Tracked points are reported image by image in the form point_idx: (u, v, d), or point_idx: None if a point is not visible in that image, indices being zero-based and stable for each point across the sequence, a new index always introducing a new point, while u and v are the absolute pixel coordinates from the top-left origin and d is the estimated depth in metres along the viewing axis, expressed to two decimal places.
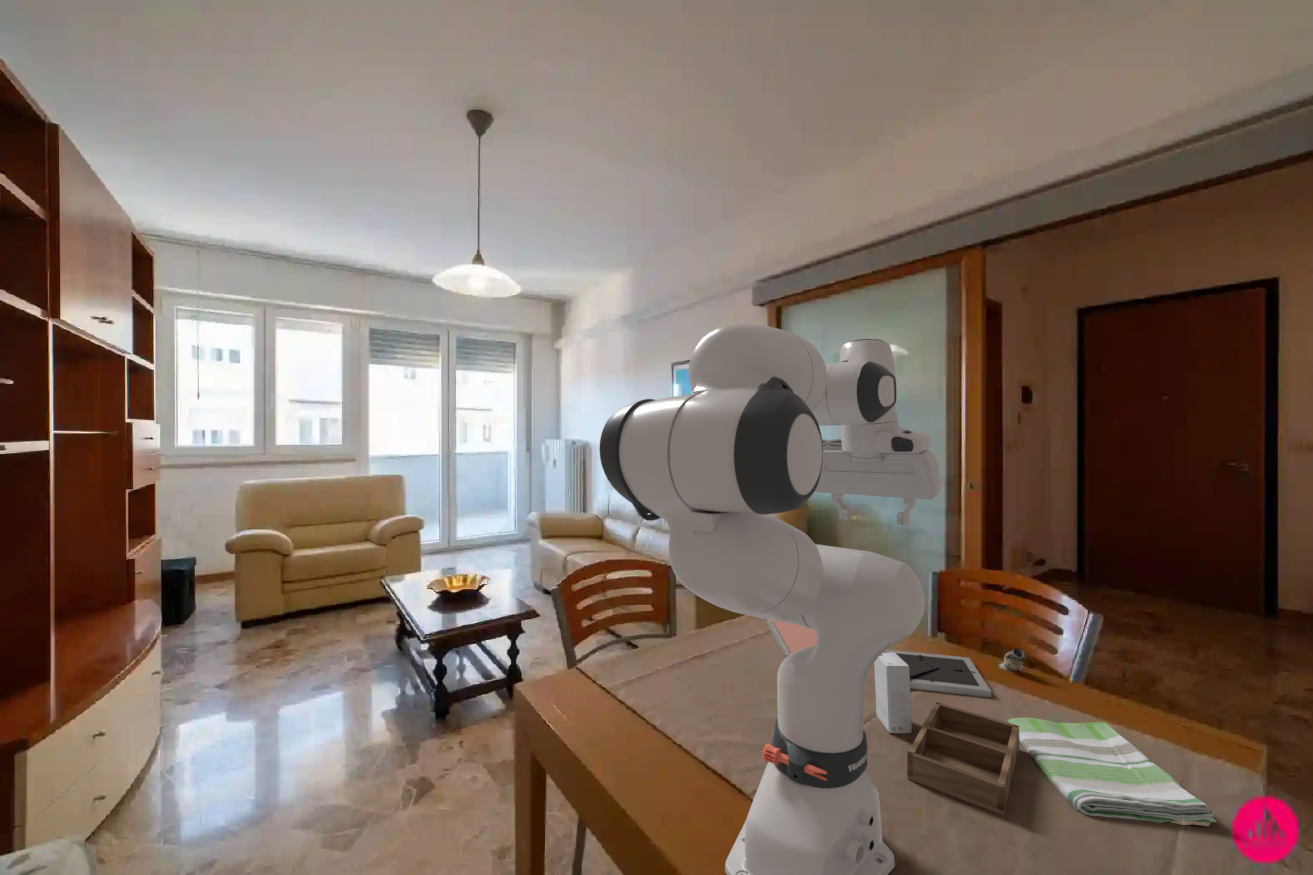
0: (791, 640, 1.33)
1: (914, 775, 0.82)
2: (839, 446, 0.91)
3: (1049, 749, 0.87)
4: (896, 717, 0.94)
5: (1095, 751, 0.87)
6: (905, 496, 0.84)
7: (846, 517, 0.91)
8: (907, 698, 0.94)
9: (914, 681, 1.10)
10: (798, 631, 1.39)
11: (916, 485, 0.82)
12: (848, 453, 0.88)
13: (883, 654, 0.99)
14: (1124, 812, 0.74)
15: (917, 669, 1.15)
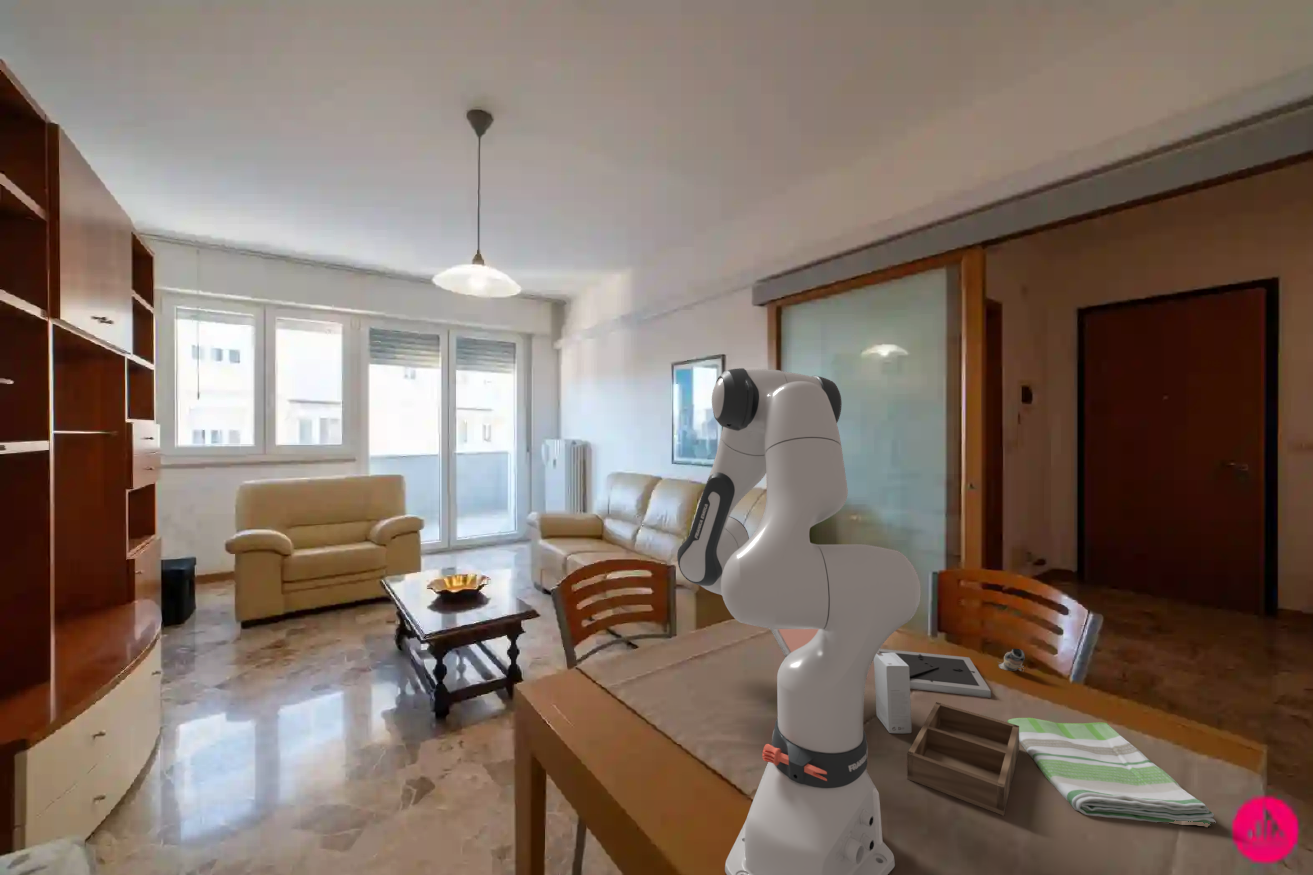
0: (791, 640, 1.33)
1: (914, 775, 0.82)
2: None
3: (1049, 749, 0.87)
4: (896, 717, 0.94)
5: (1095, 751, 0.87)
6: None
7: None
8: (907, 698, 0.94)
9: (914, 681, 1.11)
10: (798, 631, 1.39)
11: None
12: None
13: (883, 654, 0.99)
14: (1123, 812, 0.74)
15: (917, 669, 1.15)
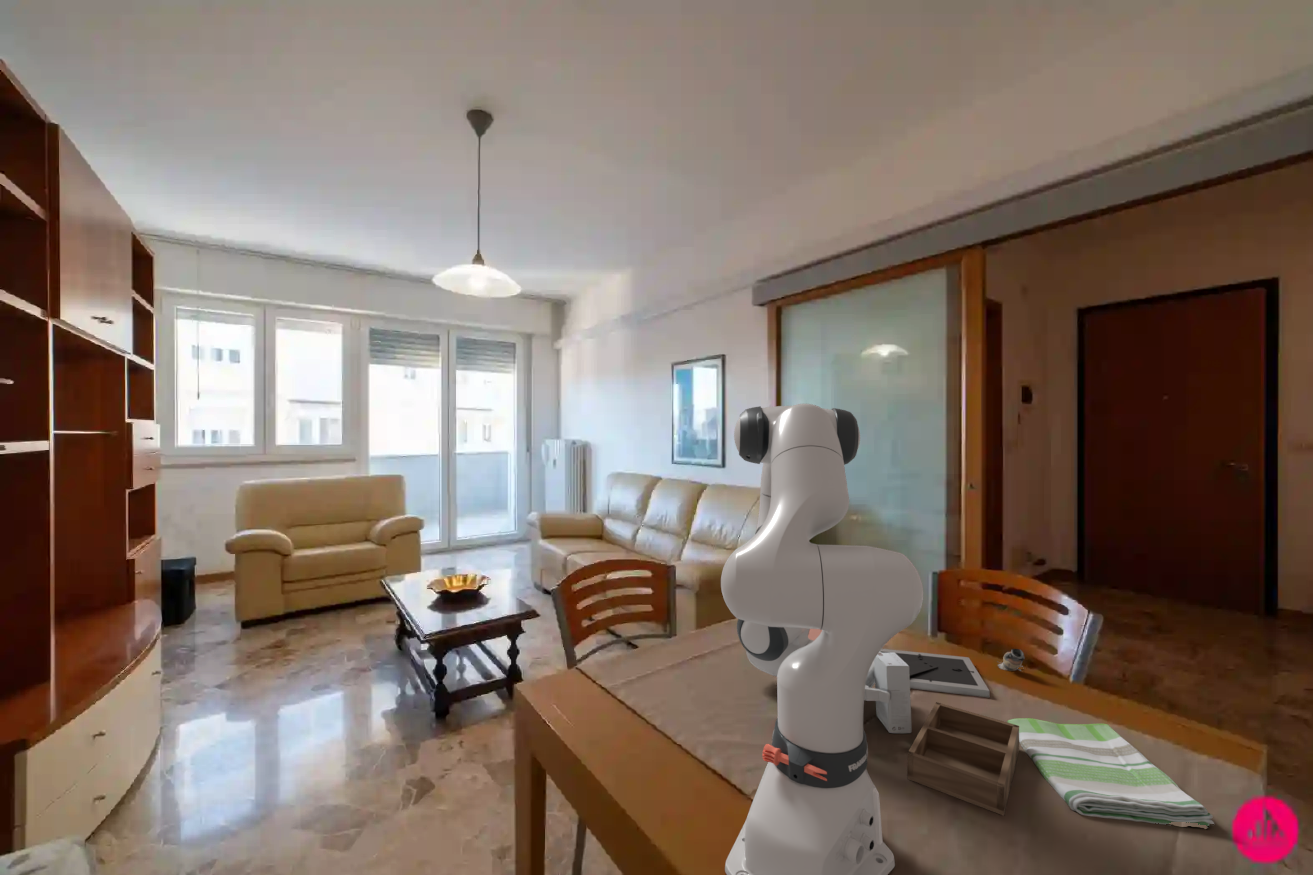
0: None
1: (914, 775, 0.82)
2: None
3: (1048, 749, 0.87)
4: (896, 717, 0.94)
5: (1095, 752, 0.87)
6: None
7: (888, 690, 0.94)
8: (907, 698, 0.94)
9: (912, 680, 1.11)
10: None
11: None
12: None
13: (883, 654, 0.99)
14: (1121, 813, 0.74)
15: (916, 668, 1.15)
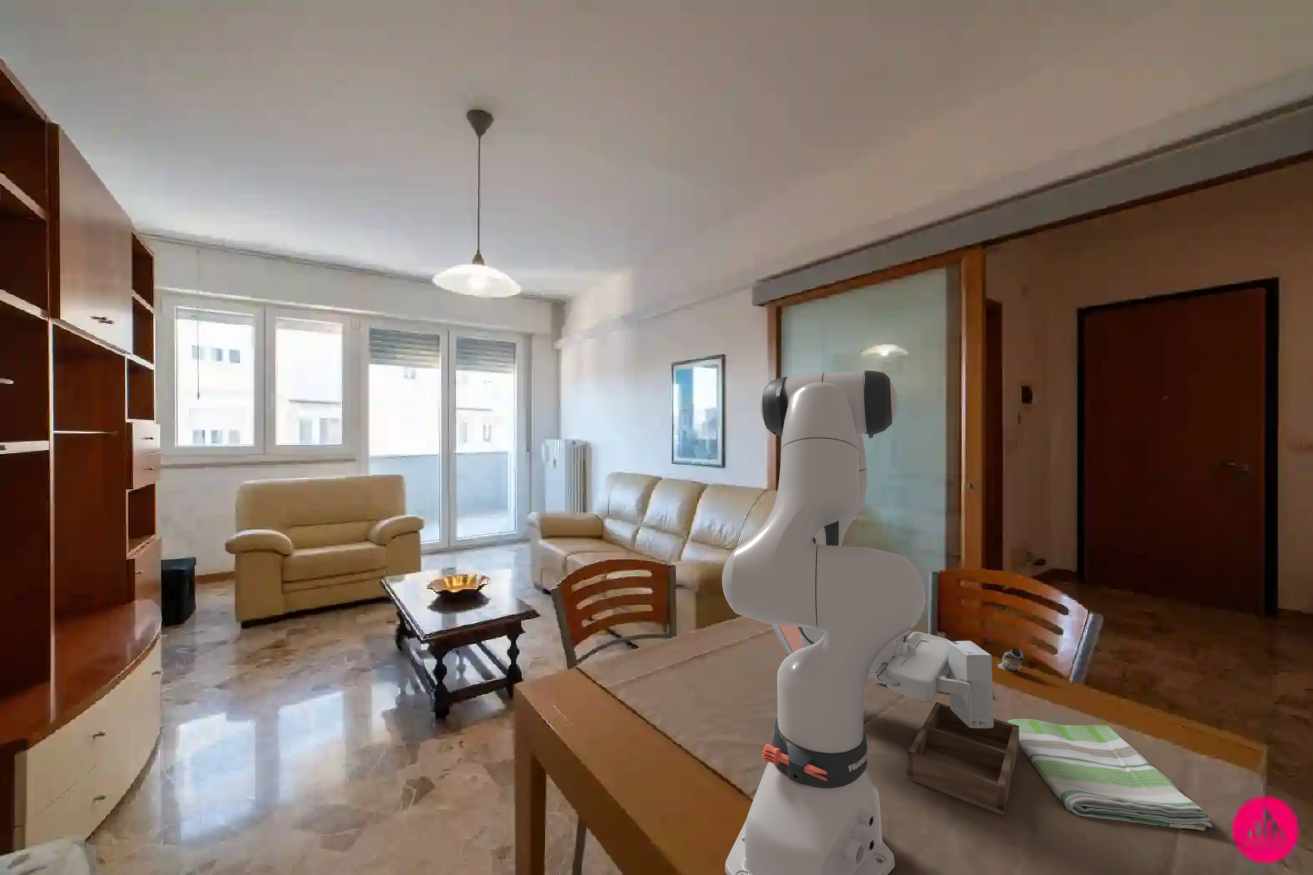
0: (794, 639, 1.33)
1: (914, 775, 0.82)
2: (887, 666, 0.93)
3: (1047, 750, 0.87)
4: (977, 710, 0.86)
5: (1094, 753, 0.86)
6: None
7: (969, 681, 0.86)
8: (989, 690, 0.86)
9: None
10: None
11: (940, 643, 0.99)
12: (896, 655, 0.94)
13: (958, 642, 0.91)
14: (1117, 814, 0.74)
15: None
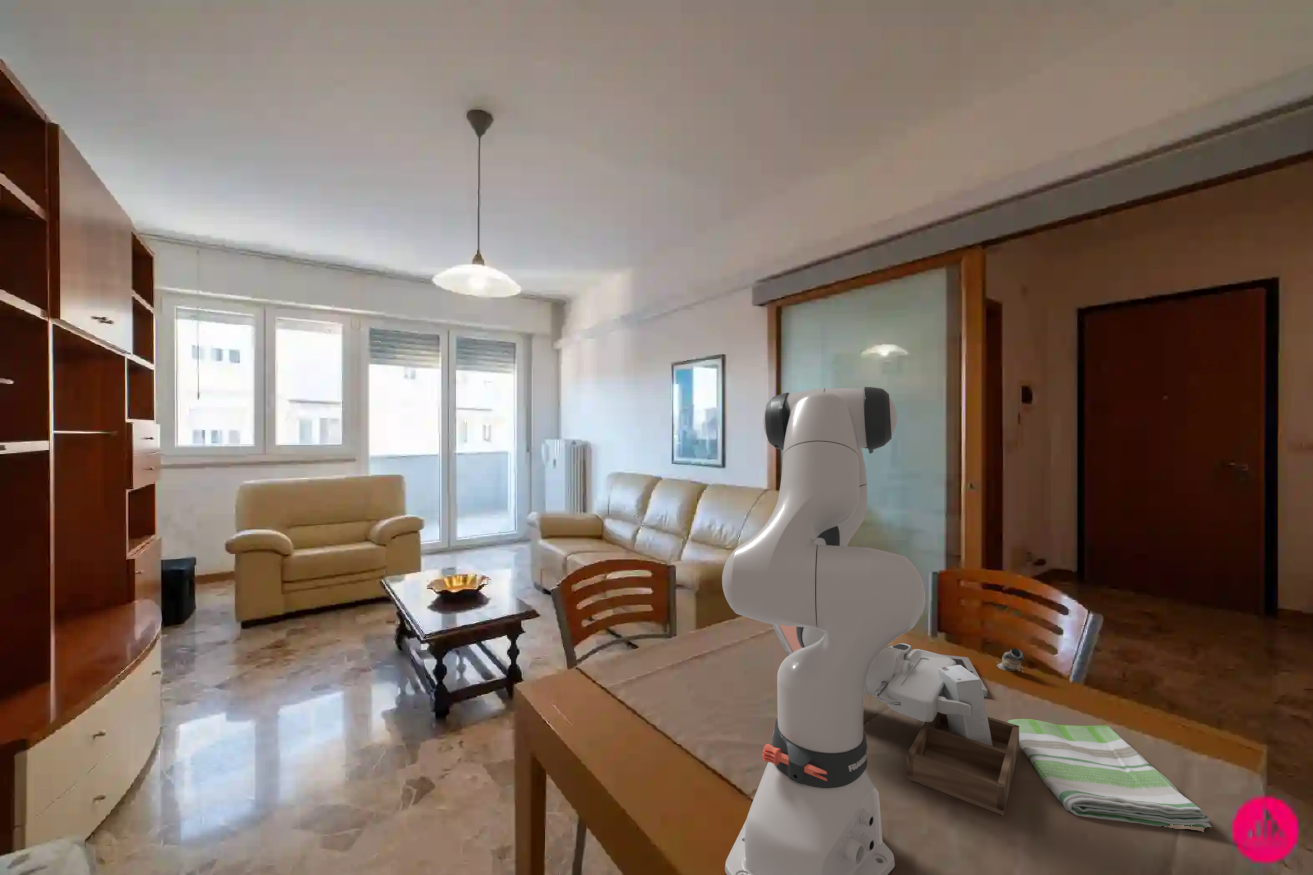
0: (794, 639, 1.33)
1: (914, 775, 0.82)
2: (888, 684, 0.93)
3: (1046, 750, 0.87)
4: (975, 736, 0.86)
5: (1094, 754, 0.86)
6: None
7: (968, 702, 0.86)
8: (983, 714, 0.87)
9: None
10: None
11: (940, 660, 0.99)
12: (897, 674, 0.94)
13: (948, 668, 0.92)
14: (1116, 814, 0.74)
15: None
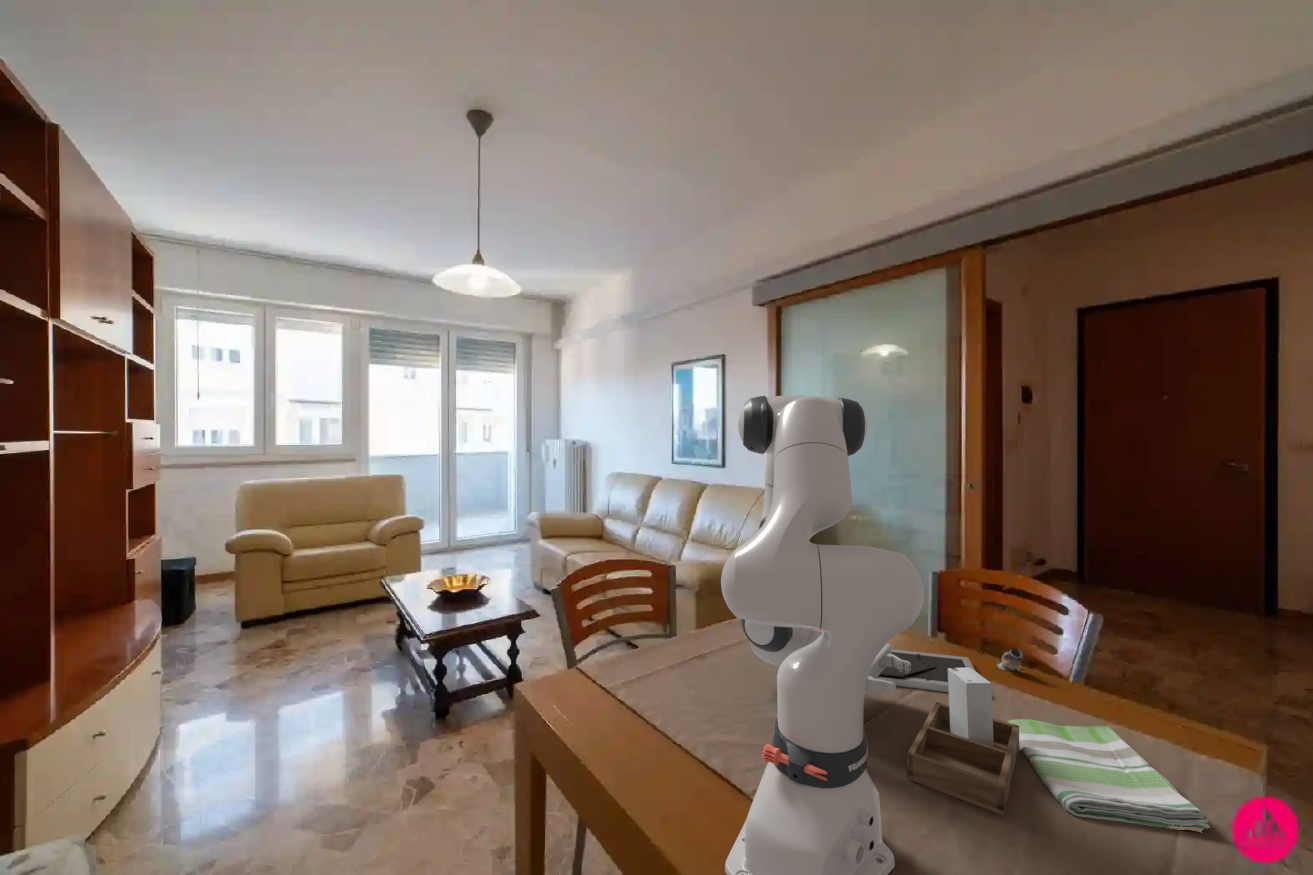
0: None
1: (914, 775, 0.82)
2: None
3: (1046, 750, 0.87)
4: (977, 738, 0.86)
5: (1094, 754, 0.86)
6: (883, 650, 1.04)
7: (893, 681, 0.93)
8: (989, 718, 0.86)
9: (910, 679, 1.11)
10: None
11: None
12: None
13: (958, 669, 0.91)
14: (1114, 814, 0.74)
15: (914, 668, 1.15)
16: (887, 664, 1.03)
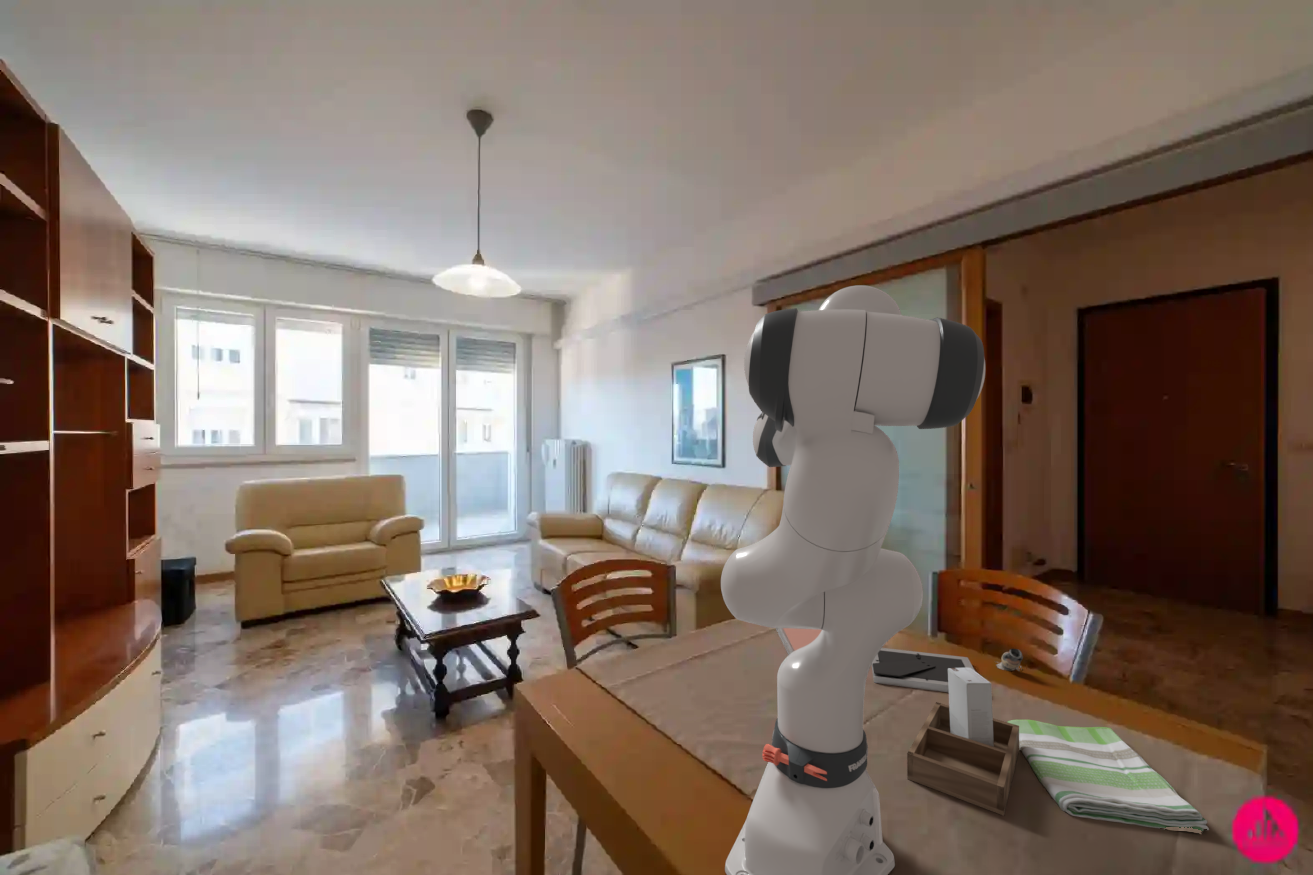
0: (796, 639, 1.34)
1: (914, 775, 0.82)
2: None
3: (1045, 751, 0.87)
4: (977, 738, 0.86)
5: (1093, 755, 0.86)
6: None
7: None
8: (989, 718, 0.86)
9: (909, 679, 1.11)
10: (803, 630, 1.39)
11: None
12: None
13: (958, 669, 0.91)
14: (1112, 815, 0.74)
15: (913, 667, 1.15)
16: None
